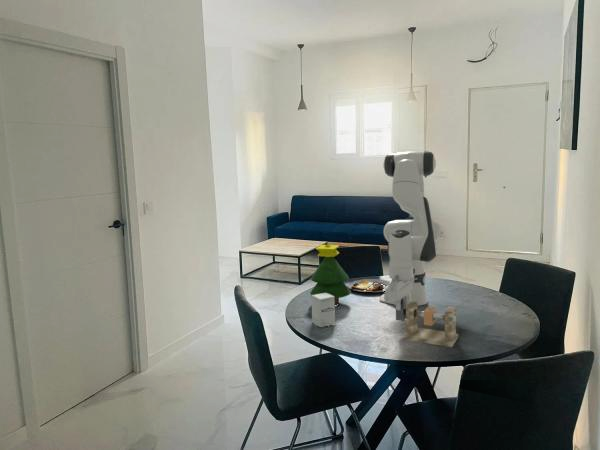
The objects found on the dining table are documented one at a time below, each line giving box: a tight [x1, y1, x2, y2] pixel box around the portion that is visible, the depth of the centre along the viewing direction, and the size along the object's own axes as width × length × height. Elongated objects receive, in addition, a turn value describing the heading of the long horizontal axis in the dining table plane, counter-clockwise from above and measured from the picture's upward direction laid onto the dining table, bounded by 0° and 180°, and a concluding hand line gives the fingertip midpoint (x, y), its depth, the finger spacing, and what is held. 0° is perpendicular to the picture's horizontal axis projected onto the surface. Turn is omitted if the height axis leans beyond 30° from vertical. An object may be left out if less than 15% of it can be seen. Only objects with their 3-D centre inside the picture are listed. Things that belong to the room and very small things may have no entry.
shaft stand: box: [403, 302, 459, 348], centre depth 177 cm, size 18×10×12 cm, turn 59°
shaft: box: [395, 295, 457, 323], centre depth 177 cm, size 22×4×10 cm, turn 59°
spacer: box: [423, 306, 437, 327], centre depth 177 cm, size 3×5×5 cm, turn 149°
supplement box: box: [310, 293, 336, 328], centre depth 196 cm, size 7×7×13 cm
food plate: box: [346, 278, 391, 293], centre depth 245 cm, size 25×23×4 cm
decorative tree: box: [310, 243, 352, 305], centre depth 220 cm, size 19×19×30 cm
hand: (401, 307), depth 182 cm, fingers closed on shaft, 4 cm apart
